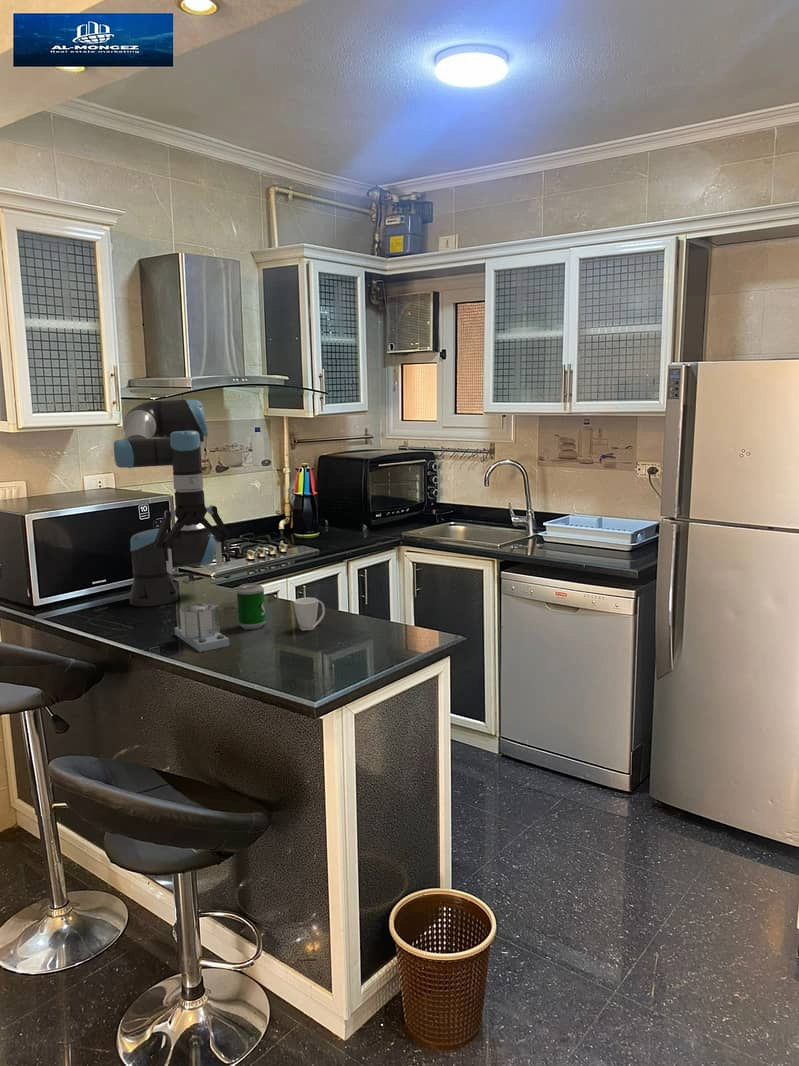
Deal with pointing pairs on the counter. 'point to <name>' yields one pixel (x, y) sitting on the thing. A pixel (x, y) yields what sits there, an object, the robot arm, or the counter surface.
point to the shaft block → (204, 638)
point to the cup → (308, 612)
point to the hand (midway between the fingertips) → (195, 569)
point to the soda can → (251, 606)
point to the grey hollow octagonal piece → (199, 620)
